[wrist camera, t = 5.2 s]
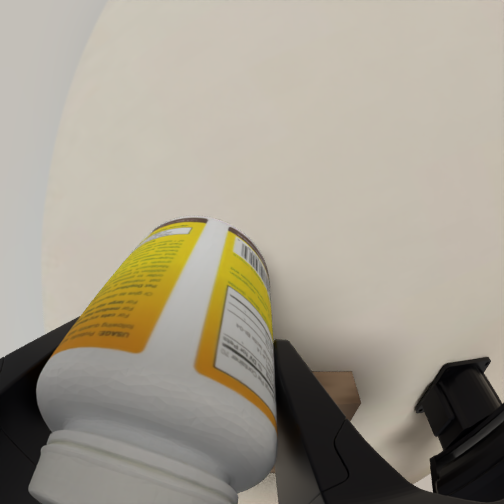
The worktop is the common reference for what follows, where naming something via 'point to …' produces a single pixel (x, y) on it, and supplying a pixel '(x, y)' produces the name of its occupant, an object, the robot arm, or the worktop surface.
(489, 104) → the worktop surface
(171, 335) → the supplement bottle
